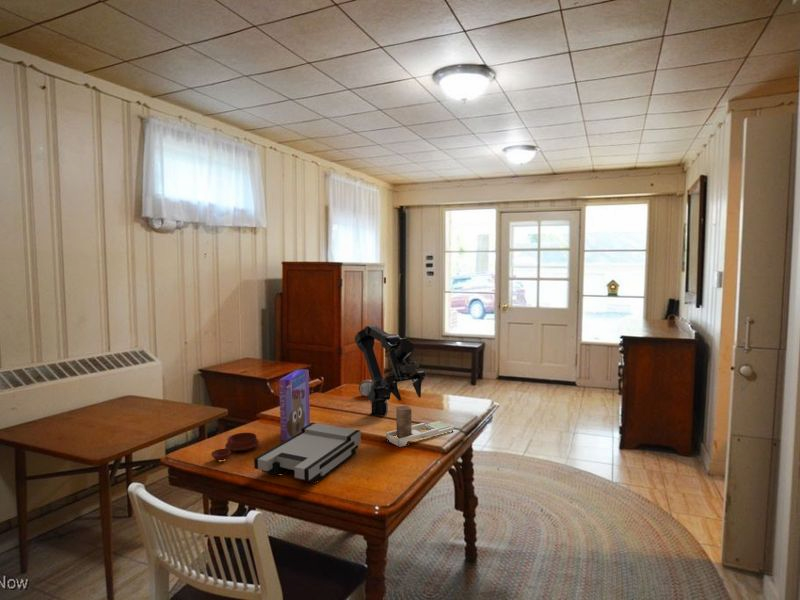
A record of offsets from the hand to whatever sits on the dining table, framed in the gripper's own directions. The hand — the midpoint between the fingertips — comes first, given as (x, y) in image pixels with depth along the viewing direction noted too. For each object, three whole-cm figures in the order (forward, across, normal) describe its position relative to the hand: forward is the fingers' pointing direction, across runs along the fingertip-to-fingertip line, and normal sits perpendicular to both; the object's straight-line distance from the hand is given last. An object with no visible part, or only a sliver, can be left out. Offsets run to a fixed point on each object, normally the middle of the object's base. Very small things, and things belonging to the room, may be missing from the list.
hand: (410, 399), depth 193 cm
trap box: (+15, +1, +2) cm, 15 cm away
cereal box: (-2, -40, +27) cm, 48 cm away
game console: (+16, -45, +1) cm, 48 cm away
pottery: (+2, -65, +21) cm, 68 cm away
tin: (-18, +10, +50) cm, 54 cm away
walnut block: (+15, -7, +2) cm, 17 cm away
